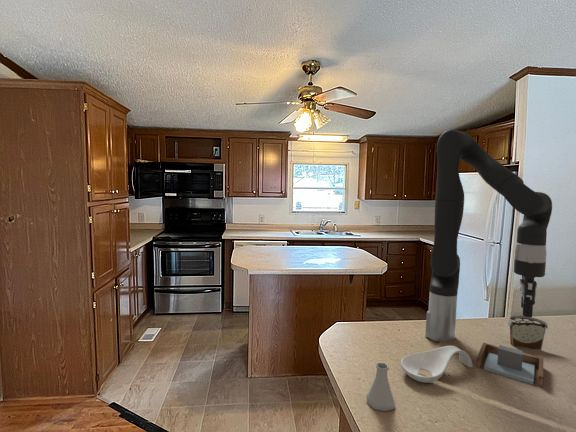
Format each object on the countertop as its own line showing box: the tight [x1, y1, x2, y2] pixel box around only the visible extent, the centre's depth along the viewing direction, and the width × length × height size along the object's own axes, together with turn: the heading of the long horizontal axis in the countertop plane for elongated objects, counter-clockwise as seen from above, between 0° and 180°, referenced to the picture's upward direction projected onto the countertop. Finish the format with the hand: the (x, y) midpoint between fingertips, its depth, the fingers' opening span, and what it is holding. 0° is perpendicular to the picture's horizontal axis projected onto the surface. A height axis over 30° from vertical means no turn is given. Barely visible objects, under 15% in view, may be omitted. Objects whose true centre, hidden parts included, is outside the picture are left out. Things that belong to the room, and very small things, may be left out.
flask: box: [366, 361, 396, 412], centre depth 83 cm, size 7×7×10 cm
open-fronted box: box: [475, 342, 544, 388], centre depth 100 cm, size 16×13×4 cm
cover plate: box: [483, 344, 535, 385], centre depth 99 cm, size 12×11×6 cm
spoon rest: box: [400, 345, 473, 384], centre depth 98 cm, size 24×12×7 cm, turn 112°
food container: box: [507, 314, 549, 351], centre depth 117 cm, size 12×6×10 cm, turn 84°
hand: (526, 312), depth 98 cm, fingers open, 8 cm apart
